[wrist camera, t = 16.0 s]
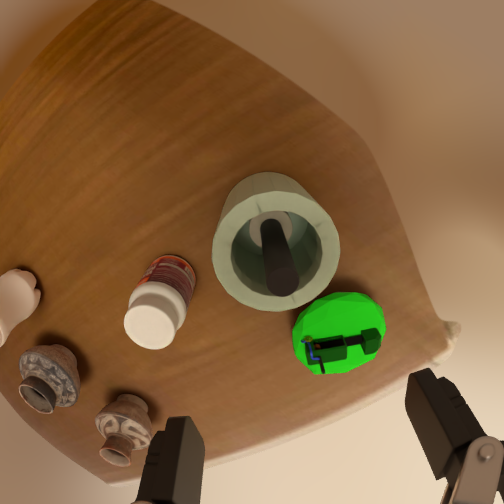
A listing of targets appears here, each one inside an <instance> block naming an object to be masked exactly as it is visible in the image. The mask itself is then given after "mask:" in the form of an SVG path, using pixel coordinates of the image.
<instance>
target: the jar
mask: <svg viewBox="0 0 504 504" xmlns="http://www.w3.org/2000/svg"><path fill="white" fill-rule="evenodd" d="M275 210H277V211H286V212H288V215H289V217H290V219H291V221H292V226H293V230H292V235H291V237H290V239H289V240H288V241H287V243H288V246H289V249H290V252H291V255H292V258H293V261H294V264H295V267H296V270H297V273H298V276H299V286H298V288H297V290H296V291H295V292H294V293H293V294H291V295H289V296H286V297H278V296H275V295H273V294H272V293H271V292H270V291H269V290H268V288H267V285H266V276H265V268H264V259H263V251H262V247H260V246H258V245H257V244H256V243H254V241H253V240H252V238H251V236H250V233H249V220H250V219H252V218H253V217H255V216H257V215H259V214H261V213H265V212H270V211H275ZM339 256H340V244H339V235H338V232H337V230H336V228H335V226H334V223H333V221H332V219H331V217H330V216H329V215H328V214H327V212H326V211H325V210H324V209H323V208H322V207H321V206H320V205H319V204H318V203H317V202H316V201H315V200H314V199H313V198H312V196H311V195H310V194H309V193H308V192H307V191H306V190H305V189H304V188H303V187H302V186H301V185H300V184H299V183H297V182H296V181H295V180H294V179H292V178H290V177H288V176H286V175H283V174H280V173H275V172H262V173H257V174H253V175H251V176H248V177H246V178H245V179H243V180H242V181H240V182H239V183H238V184H237V185H236V186H235V187H234V188H233V189H232V190H231V192H230V193H229V195H228V197H227V199H226V201H225V204H224V206H223V209H222V212H221V216H220V219H219V222H218V225H217V228H216V231H215V235H214V238H213V245H212V262H213V266H214V269H215V273H216V276H217V278H218V280H219V281H220V282H221V284H222V285H223V287H224V288H225V290H226V291H227V292H228V293H229V294H230V295H231V296H233V297H234V298H235V299H237V300H238V301H239V302H240V303H242V304H245V305H247V306H250V307H253V308H255V309H258V310H264V311H284V310H289V309H294V308H296V307H299V306H301V305H303V304H305V303H307V302H309V301H311V300H313V299H314V298H315V297H316V296H317V295H318V294H320V293H321V292H322V291H323V290H324V289H325V288H326V287H327V286H328V284H329V282H330V281H331V279H332V277H333V276H334V274H335V272H336V270H337V266H338V261H339Z"/></svg>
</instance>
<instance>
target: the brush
mask: <svg viewBox="0 0 504 504" xmlns="http://www.w3.org/2000/svg"><path fill="white" fill-rule="evenodd" d="M292 230H293V226H292V221H291V219H290V217H289V215H288V212H286V211H277V210H275V211H270V212H265V213H261V214H259V215H257V216H255V217H253V218H252V219H250V220H249V233H250V236H251V238H252V240H253V241H254V243H256V244H257V245H258V246H260V247H262V251H263V259H264V268H265V276H266V285H267V288H268V290H269V291H270V292H271V293H272V294H273V295H275V296H278V297H286V296H289V295H291V294H293V293H294V292H295V291H296V290H297V288H298V286H299V276H298V273H297V270H296V267H295V264H294V261H293V258H292V255H291V252H290V249H289V246H288V243H287V241H288V240H289V239H290V237H291V235H292Z"/></svg>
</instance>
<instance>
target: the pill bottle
mask: <svg viewBox="0 0 504 504" xmlns="http://www.w3.org/2000/svg"><path fill="white" fill-rule="evenodd" d="M195 281H196V279H195V273H194V271H193V269H192V267H191V266H190V265H189V264H188V263H187V262H186V261H185V260H183V259H182V258H180V257H177V256H173V255H165V256H161V257H159V258H157V259H156V260H154V261H153V262H152V264H151V265H150V266H149V268H148V269H147V271H146V272H145V274H144V275H143V277H142V278H141V280H140V281H139V283H138V285H137V286H136V288H135V289H134V291H133V293H132V295H131V297H130V300H129V309H128V311H127V313H126V315H125V318H124V327H125V330H126V332H127V334H128V335H129V337H130V338H131V339H132V340H133V341H134V342H135V343H137V344H138V345H140V346H142V347H145V348H148V349H161V348H164V347H166V346H168V345H169V344H170V343H171V342H172V340H173V339H174V336H175V333H176V331H177V330H178V329H179V328H180V327H181V325H182V324H183V322H184V320H185V317H186V313H187V310H188V307H189V303H190V300H191V297H192V293H193V290H194V287H195Z"/></svg>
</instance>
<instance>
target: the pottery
mask: <svg viewBox="0 0 504 504" xmlns="http://www.w3.org/2000/svg"><path fill="white" fill-rule="evenodd" d="M76 367H77V360H76V357H75V355H74V354H73V353H72V352H71V351H70V350H69V349H67V348H66V347H64V346H62V345H59V344H53V345H51V346H46V345H40V346H35V347H33V348H30V349H28V350H26V351H25V352H24V353H23V354H22V355H21V357H20V359H19V369H20V372H21V375H22V377H23V379H24V380H23V382H22V383H21V384H20V386H19V393H20V395H21V397H22V398H23V399H24V401H25V402H26V403H27V404H28V405H29V406H31V407H32V408H34V409H35V410H37V411H39V412H41V413H44V414H51V413H52V412H53V410H54V408H55V406H61V407H70V406H72V405H74V404H75V403H76V402H77V400H78V397H79V393H80V378H79V373H78V370H77V368H76ZM147 412H148V406H147V404H146V403H145V402H144V401H143V400H142V399H140V398H139V397H137V396H135V395H131V394H122V395H120V396H119V397H118V398H117V401H115V402H112V403H110V404H108V405H106V406H105V407H104V408H103V409H102V410H101V411H100V412H99V413H98V414H97V416H96V417H95V424H96V426H97V428H98V430H99V432H100V433H101V434H102V435H103V436H104V437H105V438H106V439H107V440H106V442H105V444H104V445H103V447H102V448H101V449H100V451H99V453H100V455H101V457H102V458H103V459H105V460H106V461H108V462H109V463H111V464H114V465H117V466H121V467H127V466H129V465H130V464H131V451H132V450H138V449H144V448H147V447H148V446H149V445H150V441H151V440H152V438H153V430H152V425H151V421H150V418H149V416H148V415H147Z"/></svg>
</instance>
